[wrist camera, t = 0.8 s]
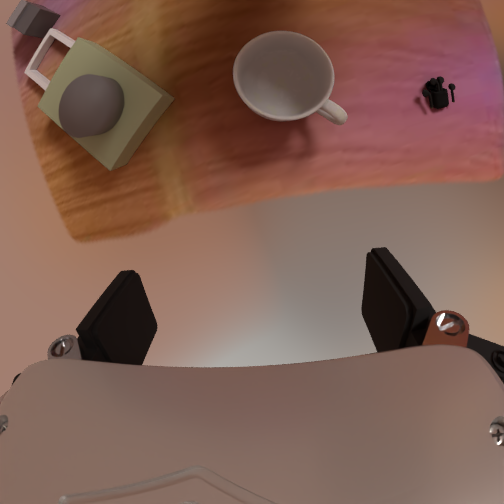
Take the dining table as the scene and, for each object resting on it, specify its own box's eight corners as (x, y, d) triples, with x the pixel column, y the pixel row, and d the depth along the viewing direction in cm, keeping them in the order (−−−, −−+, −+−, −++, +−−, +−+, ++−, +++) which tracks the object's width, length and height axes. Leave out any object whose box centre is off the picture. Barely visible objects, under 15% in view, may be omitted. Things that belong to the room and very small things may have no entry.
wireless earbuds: (428, 113, 30) (422, 82, 27) (418, 108, 32) (412, 78, 29) (459, 105, 29) (455, 75, 25) (449, 100, 31) (444, 72, 27)
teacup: (221, 83, 32) (211, 73, 24) (280, 33, 28) (284, 12, 21) (295, 155, 36) (304, 162, 28) (352, 105, 32) (374, 102, 25)
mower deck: (62, 22, 25) (29, 13, 17) (174, 98, 33) (150, 92, 24) (27, 79, 29) (-7, 80, 21) (126, 164, 37) (94, 177, 29)
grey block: (42, 5, 22) (21, -1, 16) (60, 15, 24) (38, 8, 18) (28, 27, 24) (6, 23, 18) (45, 38, 26) (21, 34, 20)
